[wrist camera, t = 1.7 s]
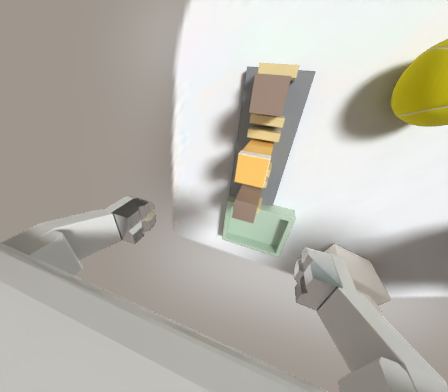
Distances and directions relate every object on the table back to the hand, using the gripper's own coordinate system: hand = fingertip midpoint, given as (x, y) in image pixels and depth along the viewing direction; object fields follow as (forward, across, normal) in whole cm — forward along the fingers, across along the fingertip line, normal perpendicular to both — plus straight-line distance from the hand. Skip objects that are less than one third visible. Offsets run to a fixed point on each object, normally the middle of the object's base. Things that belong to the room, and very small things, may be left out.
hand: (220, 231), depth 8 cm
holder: (+20, 0, 0) cm, 20 cm away
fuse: (+19, 0, 0) cm, 19 cm away
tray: (+20, -2, +15) cm, 25 cm away
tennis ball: (+20, -15, -9) cm, 27 cm away
